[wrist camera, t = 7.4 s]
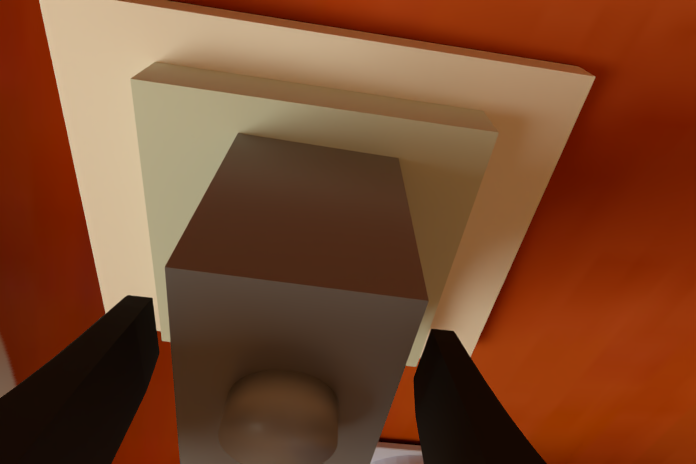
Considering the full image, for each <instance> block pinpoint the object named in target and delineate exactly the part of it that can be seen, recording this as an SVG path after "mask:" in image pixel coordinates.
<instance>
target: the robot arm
mask: <svg viewBox="0 0 696 464" xmlns="http://www.w3.org/2000/svg"><path fill="white" fill-rule="evenodd" d="M158 355H159V346H158V338H157V330H156V322H155V314H154V306H153V298H150V297H141V296H132V295H127V296H126V297H124V298H123V299H122V300H121V301H120V302H118V303H117V304H116V305H115V306H114V307H113V308H112V309H110V310H109V311H108V312H107V313H106V314H105V315H104V316H102V317H101V318H100V319H99V320H98V321H97V322H96V323H94V324H93V325H92V326H91V327H90V328H89V329H87V330H86V331H85V332H84V333H83V334H82V335H80V336H79V337H78V338H77V339H76V340H74V341H73V342H72V343H71V344H70V345H68V346H67V347H66V348H65V349H64V350H62V351H61V352H60V353H59V354H58V355H56V356H55V357H54V358H53V359H51V360H50V361H49V362H48V363H46V364H45V365H44V366H42V367H41V368H40V369H39V370H37V371H36V372H35V373H33V374H32V375H31V376H29V377H28V378H27V379H25V380H24V381H23V382H21V383H20V384H19V385H17V386H16V387H15V388H13V389H12V390H11V391H9V392H8V393H7V394H5V395H4V396H2V397H1V398H0V464H111V463H112V461H113V459H114V457H115V455H116V453H117V451H118V449H119V447H120V445H121V443H122V441H123V438H124V436H125V434H126V432H127V430H128V428H129V426H130V424H131V422H132V420H133V418H134V416H135V414H136V412H137V410H138V407H139V405H140V403H141V401H142V399H143V397H144V395H145V393H146V390H147V388H148V385H149V382H150V379H151V376H152V374H153V371H154V368H155V365H156V362H157V359H158ZM414 398H415V413H416V421H417V427H418V433H419V439H420V445H421V446H420V445H409V444H397V443H386V442H378V443H377V446H376V449H375V452H374V454H373V457H372V460H371V463H370V464H547V463H546V462H545V461H544V460H543V459H542V458H541V456H540V455H539V454H538V453H537V451H536V450H535V449H534V448H533V446H532V445H531V444H530V443H529V441H528V440H527V439H526V437H525V436H524V435H523V433H522V432H521V431H520V430H519V428H518V427H517V426H516V424H515V423H514V422H513V420H512V419H511V417H510V416H509V415H508V413H507V412H506V410H505V409H504V408H503V406H502V405H501V403H500V402H499V400H498V399H497V397H496V396H495V394H494V393H493V391H492V390H491V389H490V387H489V386H488V384H487V383H486V381H485V380H484V378H483V376H482V375H481V373H480V372H479V370H478V369H477V367H476V365H475V364H474V362H473V361H472V359H471V357H470V356H469V354H468V353H467V351H466V349H465V348H464V346H463V344H462V343H461V341H460V340H459V338H458V336H457V335H456V333H455V332H454V331H449V330H440V329H431V331H430V334H429V336H428V339H427V342H426V345H425V348H424V351H423V353H422V356H421V359H420V362H419V365H418V368H417V370H416V373H415V376H414Z"/></svg>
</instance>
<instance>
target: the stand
mask: <svg viewBox="0 0 696 464" xmlns="http://www.w3.org/2000/svg"><path fill="white" fill-rule="evenodd" d="M39 2H40V6H41V11H42V16H43V21H44V25H45V30H46V35H47V39H48V44H49V49H50V54H51V58H52V63H53V68H54V72H55V77H56V82H57V86H58V91H59V96H60V101H61V105H62V110H63V115H64V119H65V124H66V129H67V134H68V138H69V143H70V148H71V152H72V157H73V162H74V166H75V171H76V176H77V181H78V185H79V190H80V195H81V199H82V204H83V209H84V214H85V218H86V223H87V228H88V232H89V237H90V242H91V247H92V251H93V256H94V261H95V265H96V270H97V275H98V279H99V284H100V289H101V294H102V298H103V303H104V308H105V312H106V313H107V312H108V311H109V310H110V309H112V308H113V307H114V306H115V305H116V304H117V303H118V302H120V301H121V300H122V299H123V298H124V297H126V296H127V295H132V296H141V297H150V298H153V306H154V314H155V322H156V330H157V331H161V336H162V341H168V342H171V341H170V328H169V316H168V303H167V290H166V278H165V266H166V264H167V262H168V260H169V258H170V256H171V255H172V253H173V251H174V249H175V247H176V245H177V244H178V242H179V240H180V238H181V236H182V234H183V233H184V231H185V229H186V227H187V225H188V223H189V222H190V220H191V218H192V216H193V214H194V212H195V211H196V209H197V207H198V205H199V203H200V201H201V200H202V198H203V196H204V194H205V192H206V190H207V189H208V187H209V185H210V183H211V181H212V179H213V178H214V176H215V174H216V172H217V170H218V168H219V167H220V165H221V163H222V161H223V159H224V158H225V156H226V154H227V152H228V150H229V148H230V147H231V145H232V143H233V141H234V139H235V137H236V136H237V134H238V133H242V134H248V135H254V136H261V137H267V138H274V139H280V140H286V141H293V142H299V143H306V144H312V145H318V146H325V147H331V148H337V149H344V150H350V151H357V152H363V153H369V154H376V155H382V156H389V157H395V158H399V162H400V167H401V172H402V176H403V181H404V186H405V191H406V195H407V200H408V205H409V210H410V214H411V219H412V224H413V228H414V233H415V238H416V243H417V247H418V252H419V257H420V262H421V266H422V271H423V276H424V281H425V285H426V290H427V295H428V299H429V302H428V305H427V307H426V310H425V313H424V316H423V318H422V321H421V324H420V327H419V330H418V332H417V335H416V338H415V341H414V343H413V346H412V349H411V352H410V355H409V357H408V360H407V363H406V366H414V367H416V366H417V363H418V360H419V358H421V356H422V353H423V351H424V348H425V345H426V342H427V339H428V336H429V334H430V331H431V329H440V330H449V331H454V332H455V333H456V335H457V336H458V338H459V340H460V341H461V343H462V344H463V346H464V348H465V349H466V351H467V353H468V354H469V356H470V357H471V355H472V352H473V350H474V348H475V346H476V343H477V341H478V339H479V337H480V334H481V332H482V330H483V328H484V325H485V323H486V321H487V319H488V317H489V314H490V312H491V310H492V308H493V305H494V303H495V301H496V299H497V296H498V294H499V292H500V290H501V287H502V285H503V283H504V281H505V279H506V276H507V274H508V272H509V270H510V267H511V265H512V263H513V261H514V258H515V256H516V254H517V252H518V249H519V247H520V245H521V243H522V240H523V238H524V236H525V234H526V232H527V229H528V227H529V225H530V223H531V220H532V218H533V216H534V214H535V211H536V209H537V207H538V205H539V202H540V200H541V198H542V196H543V194H544V191H545V189H546V187H547V185H548V182H549V180H550V178H551V176H552V173H553V171H554V169H555V167H556V164H557V162H558V160H559V158H560V156H561V153H562V151H563V149H564V147H565V144H566V142H567V140H568V138H569V135H570V133H571V131H572V129H573V126H574V124H575V122H576V120H577V117H578V115H579V113H580V111H581V109H582V106H583V104H584V102H585V100H586V97H587V95H588V93H589V91H590V88H591V86H592V84H593V82H594V79H595V76H594V75H592V74H591V73H589V72H587V71H586V70H584V69H582V68H581V67H579V66H573V65H567V64H561V63H554V62H548V61H542V60H536V59H529V58H523V57H517V56H511V55H505V54H498V53H492V52H486V51H480V50H473V49H467V48H461V47H455V46H448V45H442V44H436V43H430V42H424V41H417V40H411V39H405V38H399V37H392V36H386V35H380V34H374V33H367V32H361V31H355V30H349V29H343V28H336V27H330V26H324V25H318V24H311V23H305V22H299V21H293V20H286V19H280V18H274V17H268V16H262V15H255V14H249V13H243V12H237V11H230V10H224V9H218V8H212V7H205V6H199V5H193V4H187V3H181V2H174V1H168V0H39Z"/></svg>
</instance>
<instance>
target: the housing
mask: <svg viewBox="0 0 696 464" xmlns="http://www.w3.org/2000/svg"><path fill="white" fill-rule="evenodd" d="M165 278H166V290H167V303H168V316H169V328H170V341H171V354H172V366H173V379H174V392H175V404H176V417H177V430H178V442H179V455H180V464H370V463H371V460H372V457H373V454H374V452H375V449H376V446H377V443H378V440H379V438H380V435H381V432H382V429H383V427H384V424H385V421H386V418H387V416H388V413H389V410H390V407H391V404H392V402H393V399H394V396H395V393H396V391H397V388H398V385H399V382H400V379H401V377H402V374H403V371H404V368H405V366H406V363H407V360H408V357H409V355H410V352H411V349H412V346H413V343H414V341H415V338H416V335H417V332H418V330H419V327H420V324H421V321H422V318H423V316H424V313H425V310H426V307H427V305H428V302H429V299H428V295H427V290H426V285H425V281H424V276H423V271H422V266H421V262H420V257H419V252H418V247H417V243H416V238H415V233H414V228H413V224H412V219H411V214H410V210H409V205H408V200H407V195H406V191H405V186H404V181H403V176H402V172H401V167H400V162H399V158H395V157H389V156H382V155H376V154H369V153H363V152H357V151H350V150H344V149H337V148H331V147H325V146H318V145H312V144H306V143H299V142H293V141H286V140H280V139H274V138H267V137H261V136H254V135H248V134H242V133H238V134H237V136H236V137H235V139H234V141H233V143H232V145H231V147H230V148H229V150H228V152H227V154H226V156H225V158H224V159H223V161H222V163H221V165H220V167H219V168H218V170H217V172H216V174H215V176H214V178H213V179H212V181H211V183H210V185H209V187H208V189H207V190H206V192H205V194H204V196H203V198H202V200H201V201H200V203H199V205H198V207H197V209H196V211H195V212H194V214H193V216H192V218H191V220H190V222H189V223H188V225H187V227H186V229H185V231H184V233H183V234H182V236H181V238H180V240H179V242H178V244H177V245H176V247H175V249H174V251H173V253H172V255H171V256H170V258H169V260H168V262H167V264H166V266H165Z"/></svg>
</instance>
